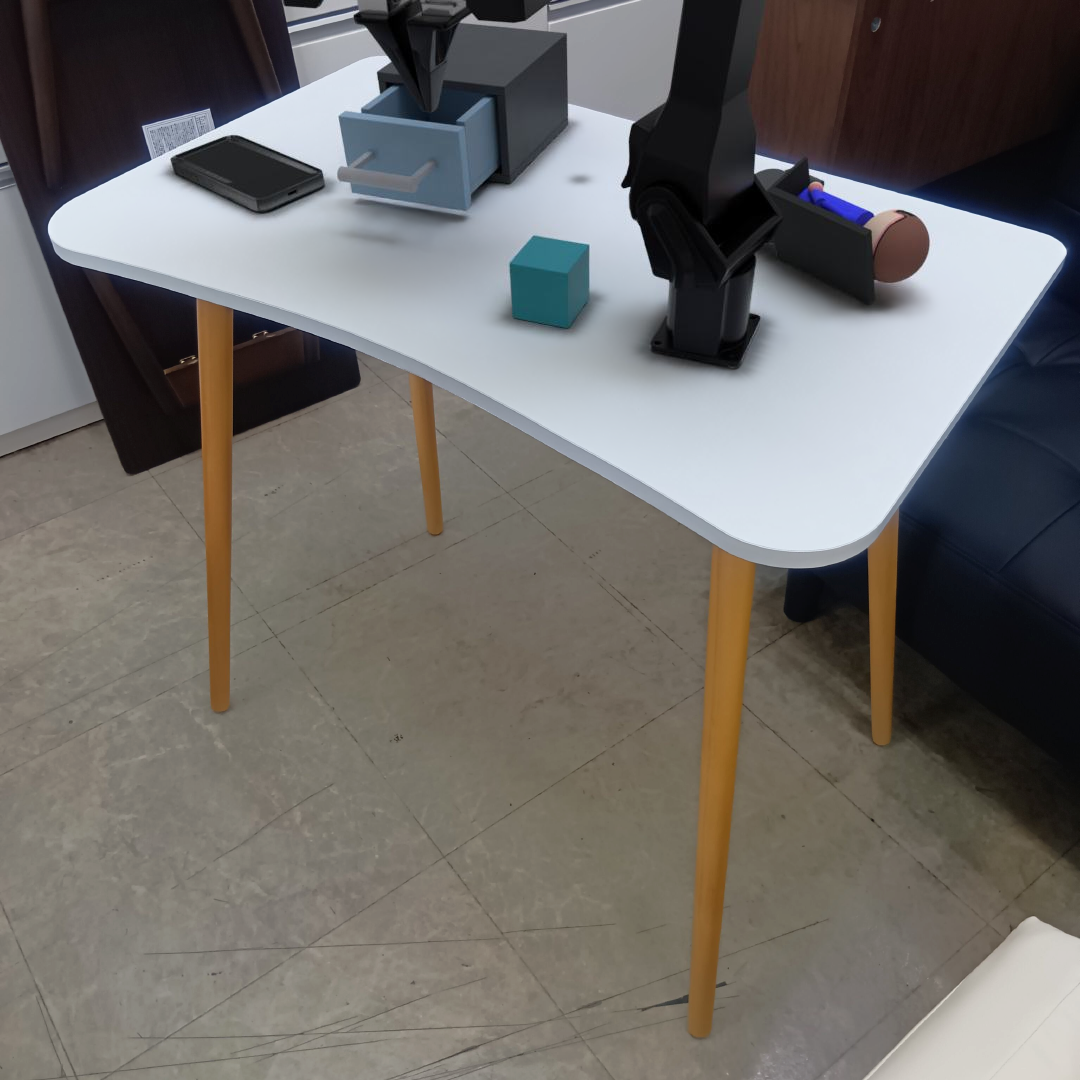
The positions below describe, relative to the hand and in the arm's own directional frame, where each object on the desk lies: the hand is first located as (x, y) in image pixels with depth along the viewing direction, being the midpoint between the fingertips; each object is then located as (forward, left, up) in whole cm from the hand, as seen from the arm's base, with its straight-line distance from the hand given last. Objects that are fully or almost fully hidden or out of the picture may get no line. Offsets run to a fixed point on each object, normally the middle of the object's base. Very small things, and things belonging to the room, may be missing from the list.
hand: (430, 110), depth 72 cm
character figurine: (+7, -29, -12) cm, 32 cm away
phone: (+7, +25, -12) cm, 28 cm away
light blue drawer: (+10, +7, -11) cm, 16 cm away
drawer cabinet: (+21, +7, -12) cm, 25 cm away
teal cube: (-5, -11, -12) cm, 17 cm away
